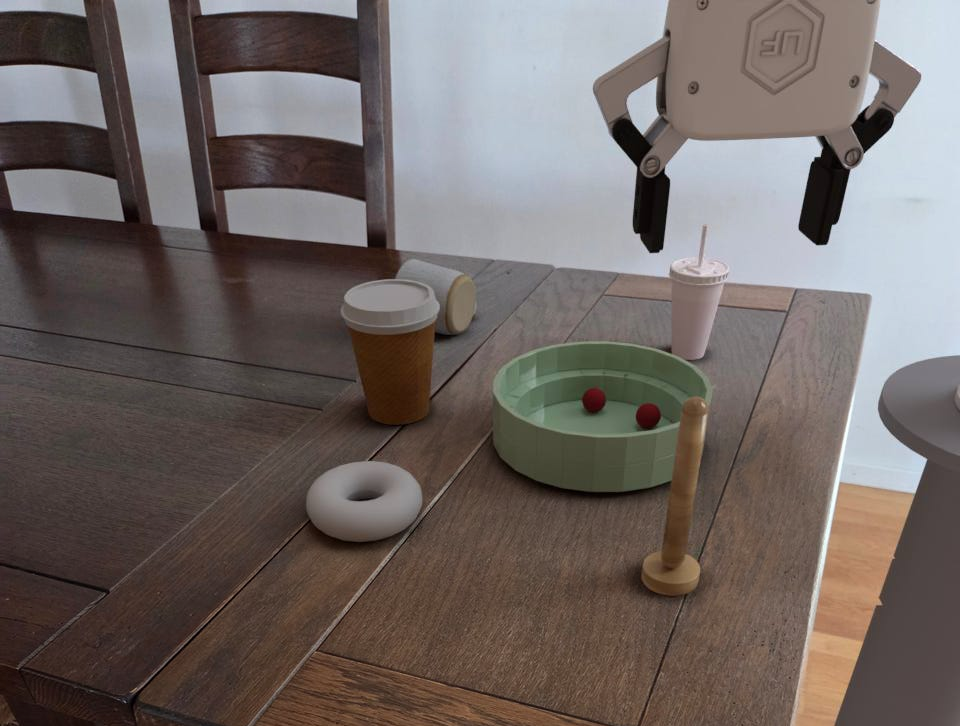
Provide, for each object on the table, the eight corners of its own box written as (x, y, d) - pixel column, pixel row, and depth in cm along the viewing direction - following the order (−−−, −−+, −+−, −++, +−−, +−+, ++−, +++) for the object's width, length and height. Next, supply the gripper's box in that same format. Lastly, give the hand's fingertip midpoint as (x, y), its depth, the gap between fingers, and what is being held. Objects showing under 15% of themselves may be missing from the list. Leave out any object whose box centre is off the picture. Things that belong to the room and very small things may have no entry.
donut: (418, 551, 73) (428, 486, 81) (415, 516, 71) (426, 452, 78) (298, 550, 74) (319, 485, 81) (292, 516, 71) (314, 452, 79)
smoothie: (658, 363, 100) (674, 231, 91) (660, 340, 105) (675, 213, 96) (717, 366, 99) (738, 233, 90) (715, 343, 104) (736, 215, 95)
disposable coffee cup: (418, 440, 87) (409, 319, 80) (335, 422, 91) (319, 304, 83) (460, 400, 94) (456, 284, 86) (381, 385, 97) (371, 272, 89)
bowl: (685, 395, 94) (693, 340, 90) (720, 497, 78) (731, 436, 75) (494, 397, 94) (494, 342, 90) (492, 498, 79) (491, 437, 75)
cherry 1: (604, 405, 91) (605, 383, 89) (606, 416, 89) (607, 394, 88) (580, 405, 91) (582, 383, 90) (582, 416, 89) (583, 394, 88)
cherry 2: (657, 421, 88) (660, 398, 87) (660, 432, 86) (663, 410, 85) (633, 421, 88) (635, 399, 87) (636, 433, 86) (638, 410, 85)
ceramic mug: (451, 346, 104) (449, 279, 100) (392, 334, 107) (387, 268, 103) (492, 316, 112) (492, 253, 107) (436, 306, 115) (433, 244, 110)
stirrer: (693, 562, 71) (723, 383, 61) (702, 596, 68) (736, 412, 58) (638, 562, 71) (659, 383, 61) (644, 596, 68) (668, 413, 58)
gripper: (623, -142, 38) (596, 270, 49) (1017, -153, 39) (902, 256, 50) (593, -140, 43) (575, 229, 55) (937, -150, 44) (850, 217, 55)
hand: (731, 242), depth 52 cm, fingers open, 9 cm apart
